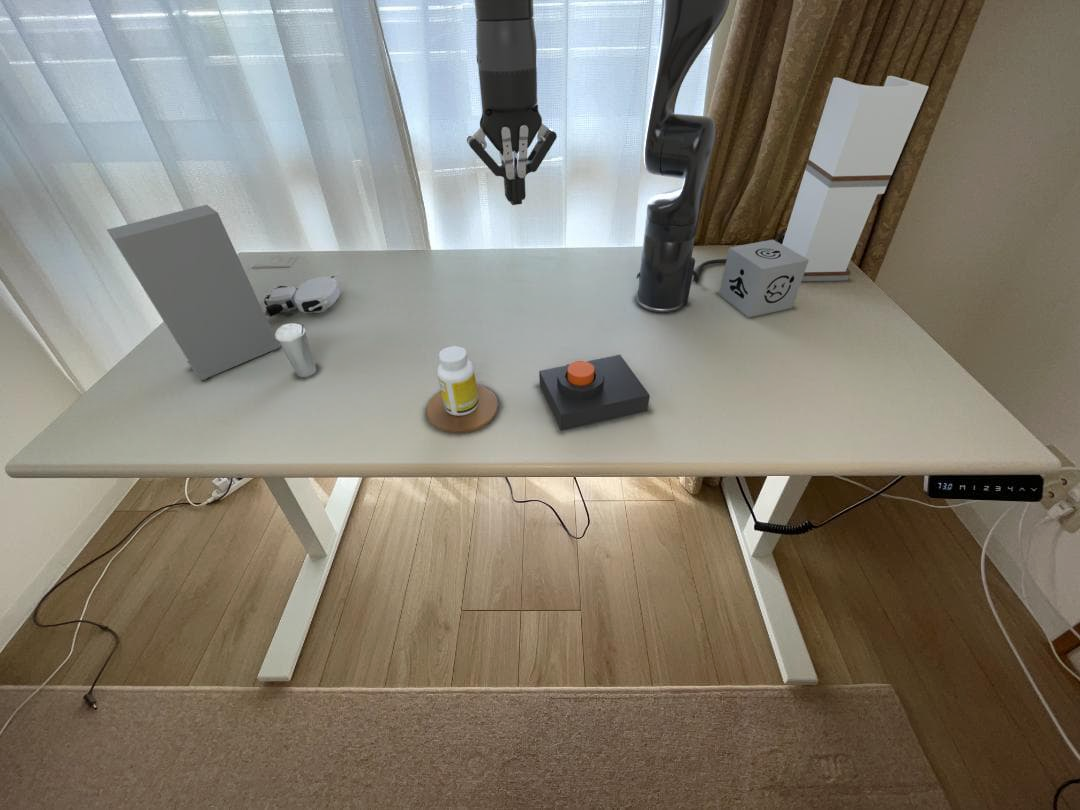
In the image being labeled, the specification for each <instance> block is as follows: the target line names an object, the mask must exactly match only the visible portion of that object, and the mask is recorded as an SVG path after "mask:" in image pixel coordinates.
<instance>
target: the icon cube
mask: <svg viewBox="0 0 1080 810" xmlns="http://www.w3.org/2000/svg"><path fill="white" fill-rule="evenodd" d="M726 259H727V260H726V263H725V265H724V269H723V272H722V278H721V282H720V287H719V289H718V295H719V296H720V297H721V298H723V299H724V300H725V301H726V302H728V303H729V304H731V305H732V306H733V307H735V308H736V309H737V310H738V311H739V312H741V313H742V314H743V315H744V316H745V317H747V318H753V317H757V316H762V315H765V314H766V315H767V314H772V313H777V312H779V311H785V310H789V309H793V307H794V303H795V301H796V297H797V295H798V292H799V289H800V286H801V284H802V282H803V281H802V278H803V275H804V272H805V270H806V267H807V264H808V261H809V260H808V259H806V258H805V257H803V256H801V255H799V254H798V253H796V252H794V251H792V250H791V249H789V248H787V247H785V246H784V245H782V243H781V242H779V241H775V239H768V240H763V241H757V242H752V243H746V244H739V245H735V246H730V247H729V248H728V252H727V257H726Z"/></svg>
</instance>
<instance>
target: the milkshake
mask: <svg viewBox="0 0 1080 810" xmlns="http://www.w3.org/2000/svg"><path fill="white" fill-rule="evenodd" d="M304 325H305V324H304V323H302V324H298V323H293V322H291V323H285V324H282V325H280V326H279V327H278V328H277V329H276V331H275V333H274V336H275V338H276V340H277V341H278V343H279V345H280V348H281V350H282V351H283V352H284V354H285V355H286V358H287V360H288V361H289V363H290V365H291V367H292V369H293V370H294V372H295V374H296V375H297V377H299V378H309V377H311V376H312V375H314V374H316V372H317V366H316V363H315V359H314V355H313V353H312V350H311V346H310V343H309V339H308V336H307V332H306V329H305V326H304Z"/></svg>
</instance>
